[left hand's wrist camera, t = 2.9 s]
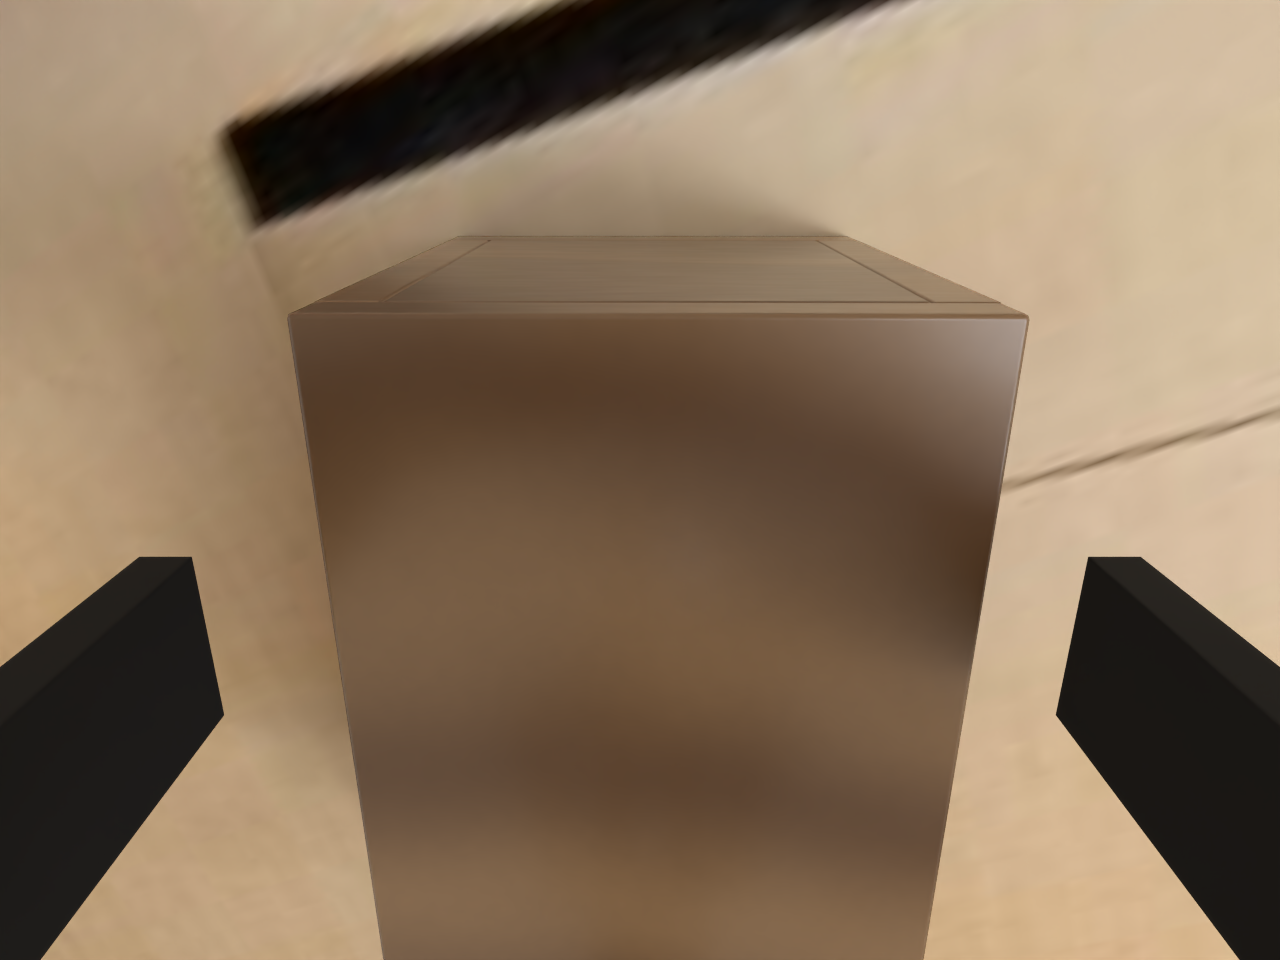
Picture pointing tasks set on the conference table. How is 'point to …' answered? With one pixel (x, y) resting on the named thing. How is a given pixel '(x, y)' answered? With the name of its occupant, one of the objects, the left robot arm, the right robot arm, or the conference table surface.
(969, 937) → the conference table surface
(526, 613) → the cabinet
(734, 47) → the conference table surface
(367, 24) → the conference table surface
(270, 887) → the conference table surface
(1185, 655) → the left robot arm
